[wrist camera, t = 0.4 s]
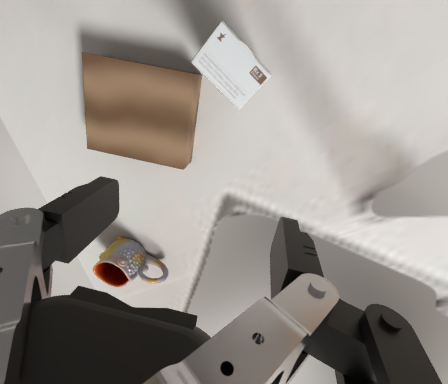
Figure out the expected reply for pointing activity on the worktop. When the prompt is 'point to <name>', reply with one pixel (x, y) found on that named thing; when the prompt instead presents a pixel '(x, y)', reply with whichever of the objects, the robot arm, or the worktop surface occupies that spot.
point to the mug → (126, 263)
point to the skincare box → (231, 66)
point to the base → (140, 110)
